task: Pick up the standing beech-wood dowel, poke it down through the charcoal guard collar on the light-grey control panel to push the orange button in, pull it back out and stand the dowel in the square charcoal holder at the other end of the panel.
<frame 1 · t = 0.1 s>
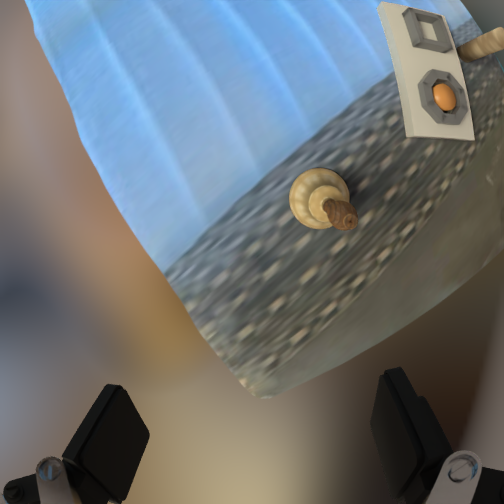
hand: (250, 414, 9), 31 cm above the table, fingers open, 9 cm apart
stylus: (463, 54, 28), on the table
panel: (426, 71, 30), on the table
hand bell: (319, 198, 37), on the table
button: (442, 97, 29), point 3 cm above the table, slide at 0.0 cm
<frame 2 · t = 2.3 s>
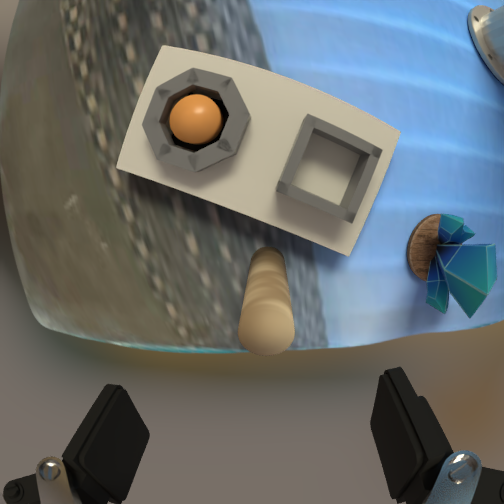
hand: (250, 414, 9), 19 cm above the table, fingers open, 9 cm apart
stylus: (267, 262, 27), on the table
panel: (256, 142, 24), on the table
gemstone: (433, 248, 26), on the table
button: (197, 120, 21), point 3 cm above the table, slide at 0.0 cm
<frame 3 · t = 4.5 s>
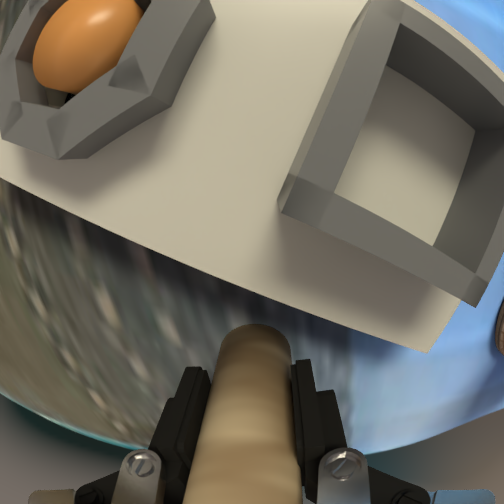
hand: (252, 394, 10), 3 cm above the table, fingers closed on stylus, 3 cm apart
stylus: (255, 353, 13), on the table, touching gripper
panel: (233, 88, 9), on the table
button: (90, 40, 6), point 3 cm above the table, slide at 0.0 cm
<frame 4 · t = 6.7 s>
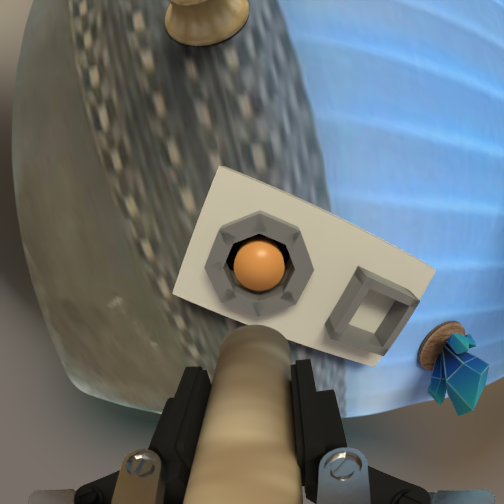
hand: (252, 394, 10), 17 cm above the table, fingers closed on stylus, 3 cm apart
stylus: (255, 353, 13), point 14 cm above the table, touching gripper
panel: (309, 273, 27), on the table
hand bell: (206, 14, 20), on the table
gemstone: (440, 345, 29), on the table
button: (259, 263, 24), point 3 cm above the table, slide at 0.0 cm
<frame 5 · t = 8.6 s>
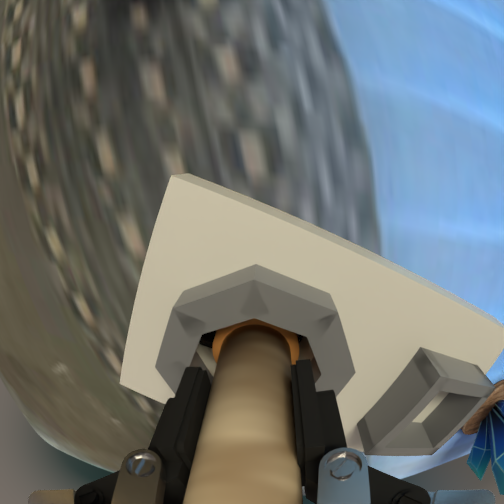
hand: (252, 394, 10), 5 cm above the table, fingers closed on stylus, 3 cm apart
stylus: (255, 353, 13), point 3 cm above the table, touching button, gripper
panel: (337, 352, 15), on the table
gemstone: (486, 405, 17), on the table
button: (256, 340, 13), point 2 cm above the table, slide at 1.3 cm, touching stylus
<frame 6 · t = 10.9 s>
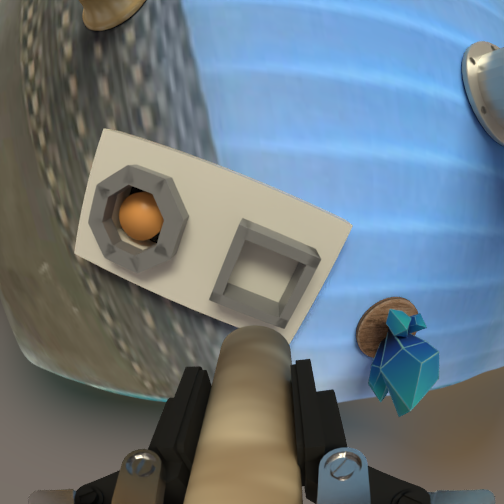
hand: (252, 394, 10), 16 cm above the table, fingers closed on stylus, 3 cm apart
stylus: (255, 354, 13), point 13 cm above the table, touching gripper
panel: (201, 232, 25), on the table
hand bell: (116, 1, 18), on the table
gemstone: (387, 327, 27), on the table
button: (144, 214, 23), point 2 cm above the table, slide at 1.3 cm
when the fingers open (6 cm above the table, at t = 12.5 s): stylus stays where it is, resting on panel.
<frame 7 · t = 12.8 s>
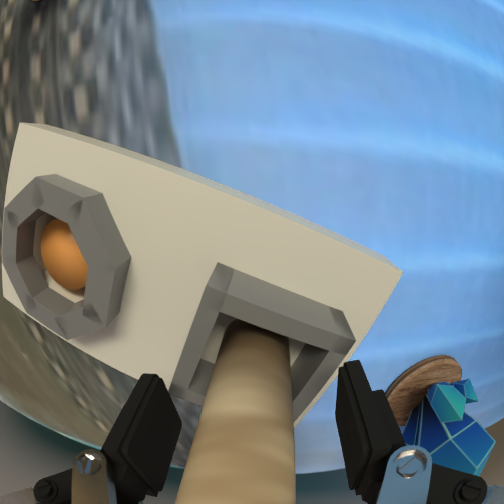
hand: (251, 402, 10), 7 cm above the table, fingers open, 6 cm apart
stylus: (255, 342, 13), point 3 cm above the table, touching panel
panel: (159, 275, 15), on the table
gemstone: (420, 389, 18), on the table
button: (74, 249, 14), point 2 cm above the table, slide at 1.3 cm
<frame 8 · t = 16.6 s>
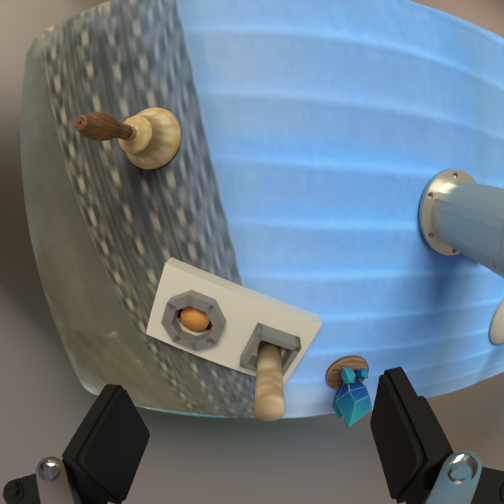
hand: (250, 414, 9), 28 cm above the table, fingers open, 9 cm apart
stylus: (269, 347, 38), point 3 cm above the table, touching panel
panel: (231, 322, 40), on the table
hand bell: (152, 138, 33), on the table
gemstone: (347, 371, 42), on the table
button: (196, 315, 38), point 2 cm above the table, slide at 1.3 cm
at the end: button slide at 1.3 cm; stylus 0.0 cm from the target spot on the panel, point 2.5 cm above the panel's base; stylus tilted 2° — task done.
